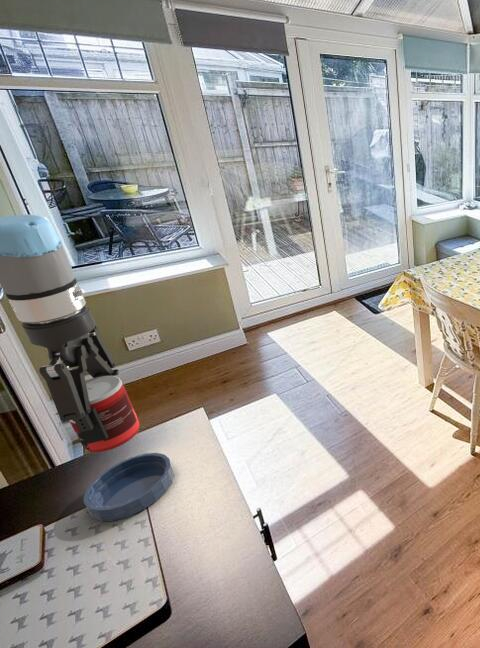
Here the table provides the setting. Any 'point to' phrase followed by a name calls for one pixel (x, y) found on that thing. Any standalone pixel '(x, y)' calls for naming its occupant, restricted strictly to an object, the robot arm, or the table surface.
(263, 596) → the table surface
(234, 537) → the table surface
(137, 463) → the bowl
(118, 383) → the canned food
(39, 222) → the robot arm
